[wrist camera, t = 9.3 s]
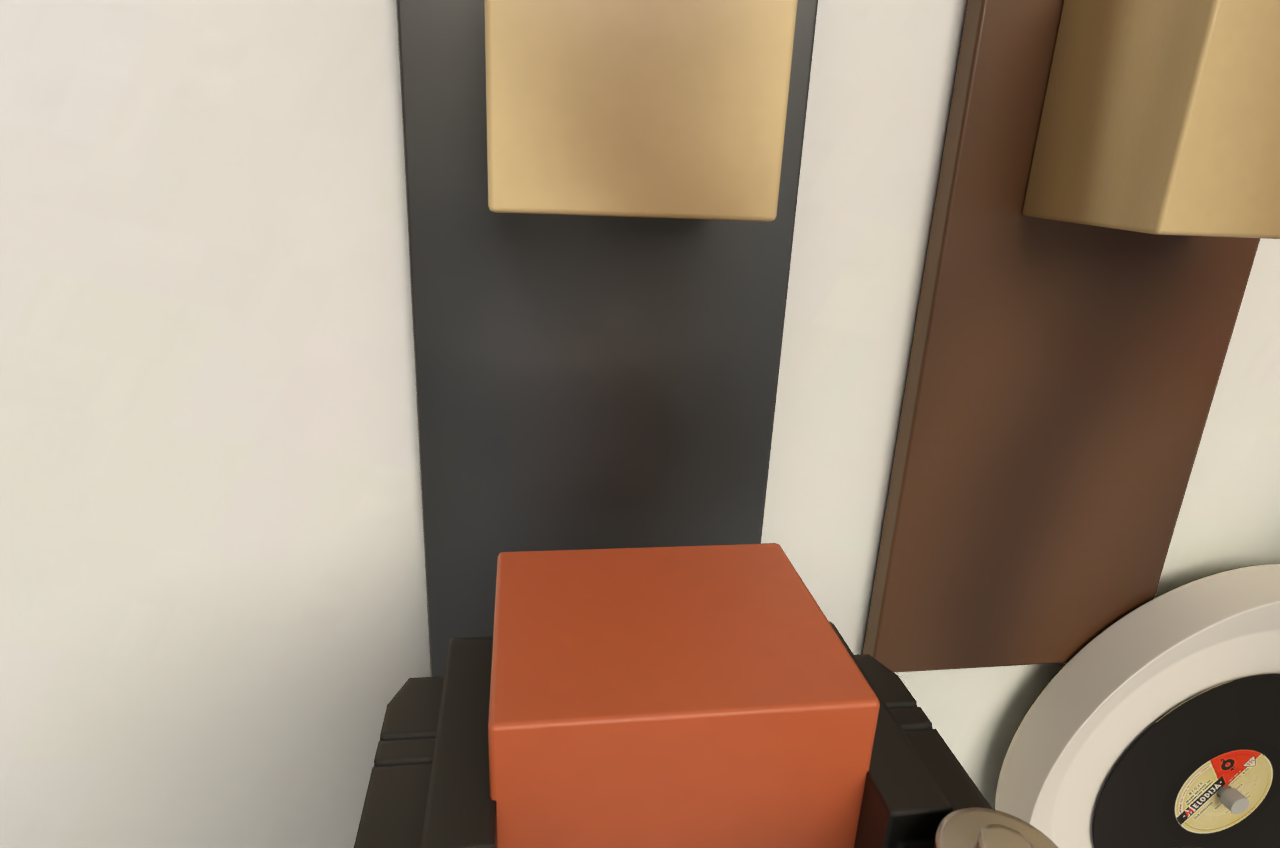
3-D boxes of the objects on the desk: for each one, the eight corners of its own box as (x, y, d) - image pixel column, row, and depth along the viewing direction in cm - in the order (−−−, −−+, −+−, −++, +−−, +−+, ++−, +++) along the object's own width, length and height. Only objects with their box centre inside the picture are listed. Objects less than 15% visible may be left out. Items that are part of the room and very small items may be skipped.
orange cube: (502, 781, 12) (495, 1017, 9) (497, 549, 11) (488, 727, 8) (754, 763, 13) (835, 978, 9) (779, 541, 11) (883, 702, 8)
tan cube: (1019, 215, 15) (1157, 234, 12) (1065, -18, 14) (1233, -67, 11) (1201, 222, 16) (1378, 242, 13) (1261, 0, 15) (1477, -42, 11)
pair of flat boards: (447, 944, 20) (445, 967, 20) (391, -178, 12) (386, -192, 12) (1052, 881, 23) (1066, 900, 22) (1326, -79, 15) (1358, -87, 14)
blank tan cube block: (494, 196, 14) (488, 212, 10) (490, -67, 12) (480, -143, 9) (718, 204, 14) (778, 221, 11) (736, -47, 13) (811, -110, 10)
